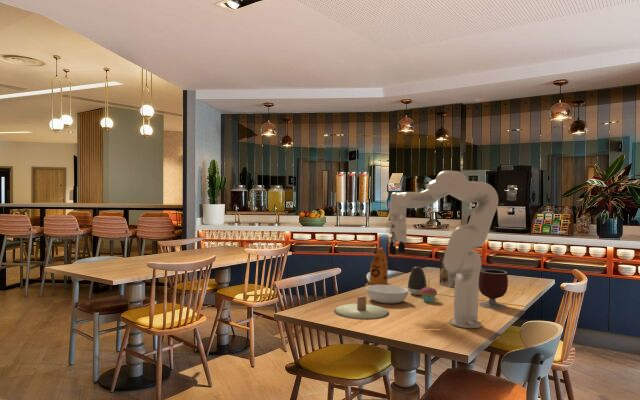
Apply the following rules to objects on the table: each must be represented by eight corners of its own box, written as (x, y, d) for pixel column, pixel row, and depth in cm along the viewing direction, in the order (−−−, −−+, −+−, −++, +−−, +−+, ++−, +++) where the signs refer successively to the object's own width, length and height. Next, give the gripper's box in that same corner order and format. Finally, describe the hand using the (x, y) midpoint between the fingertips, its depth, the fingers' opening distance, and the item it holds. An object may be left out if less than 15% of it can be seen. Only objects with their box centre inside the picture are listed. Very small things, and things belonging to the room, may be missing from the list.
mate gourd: (505, 303, 234) (506, 264, 233) (509, 310, 220) (510, 268, 220) (473, 301, 238) (474, 262, 238) (474, 307, 224) (475, 266, 224)
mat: (396, 320, 197) (396, 319, 197) (338, 321, 194) (338, 319, 194) (381, 306, 222) (381, 305, 222) (329, 307, 218) (329, 305, 218)
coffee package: (366, 285, 275) (367, 248, 275) (374, 281, 286) (375, 246, 286) (382, 287, 271) (383, 249, 270) (389, 283, 282) (390, 247, 281)
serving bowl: (375, 308, 219) (375, 293, 219) (360, 298, 239) (360, 285, 239) (415, 306, 225) (415, 292, 225) (397, 296, 245) (397, 284, 245)
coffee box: (438, 284, 283) (439, 258, 283) (447, 283, 286) (447, 257, 285) (448, 287, 275) (449, 260, 274) (457, 286, 277) (458, 259, 277)
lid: (393, 318, 198) (394, 302, 198) (340, 319, 195) (341, 302, 195) (379, 305, 221) (380, 291, 221) (332, 306, 218) (332, 291, 218)
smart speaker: (419, 291, 259) (420, 264, 259) (430, 295, 250) (431, 267, 249) (403, 292, 256) (404, 265, 256) (414, 296, 246) (414, 268, 246)
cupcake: (437, 303, 231) (437, 279, 231) (419, 302, 232) (420, 278, 232) (436, 299, 239) (436, 276, 239) (419, 298, 241) (420, 275, 241)
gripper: (397, 218, 213) (396, 255, 213) (412, 217, 227) (411, 252, 228) (382, 217, 218) (381, 254, 218) (398, 217, 232) (397, 251, 232)
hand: (397, 253), depth 223 cm, fingers open, 9 cm apart
